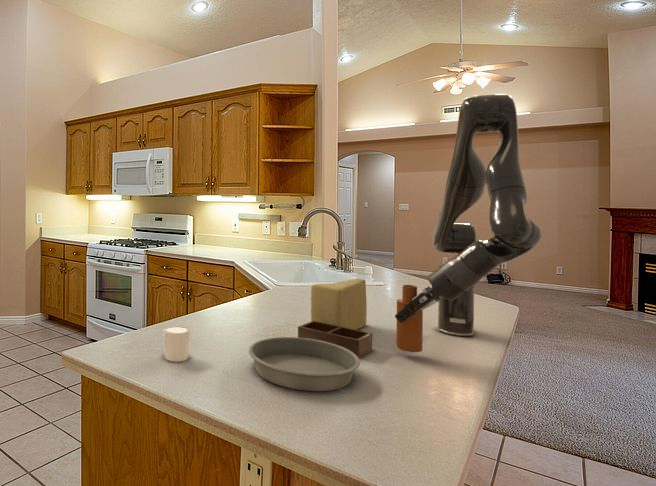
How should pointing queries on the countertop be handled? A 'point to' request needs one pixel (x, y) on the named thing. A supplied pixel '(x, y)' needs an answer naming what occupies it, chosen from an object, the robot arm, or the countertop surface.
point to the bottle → (409, 323)
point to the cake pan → (304, 363)
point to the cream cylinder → (176, 343)
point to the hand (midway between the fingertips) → (402, 316)
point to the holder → (338, 336)
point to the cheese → (340, 303)
